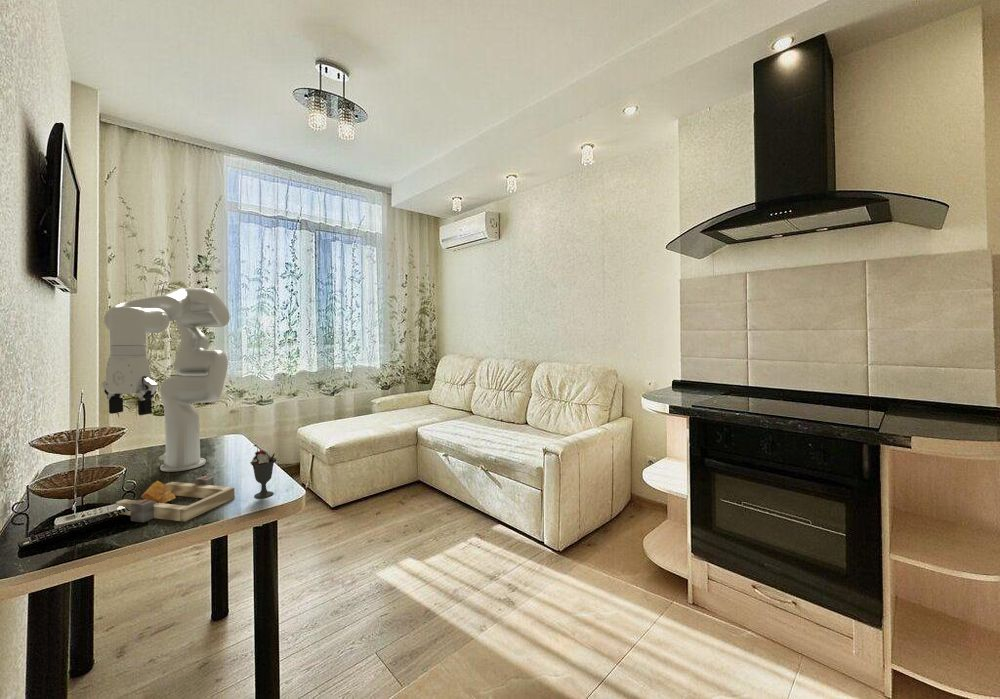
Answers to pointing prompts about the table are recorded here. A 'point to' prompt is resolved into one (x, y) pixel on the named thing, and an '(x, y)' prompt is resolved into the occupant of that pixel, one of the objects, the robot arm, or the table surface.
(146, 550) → the table surface
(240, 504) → the table surface
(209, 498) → the light wooden frame
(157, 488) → the pyrite
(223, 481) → the table surface
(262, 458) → the sundae
